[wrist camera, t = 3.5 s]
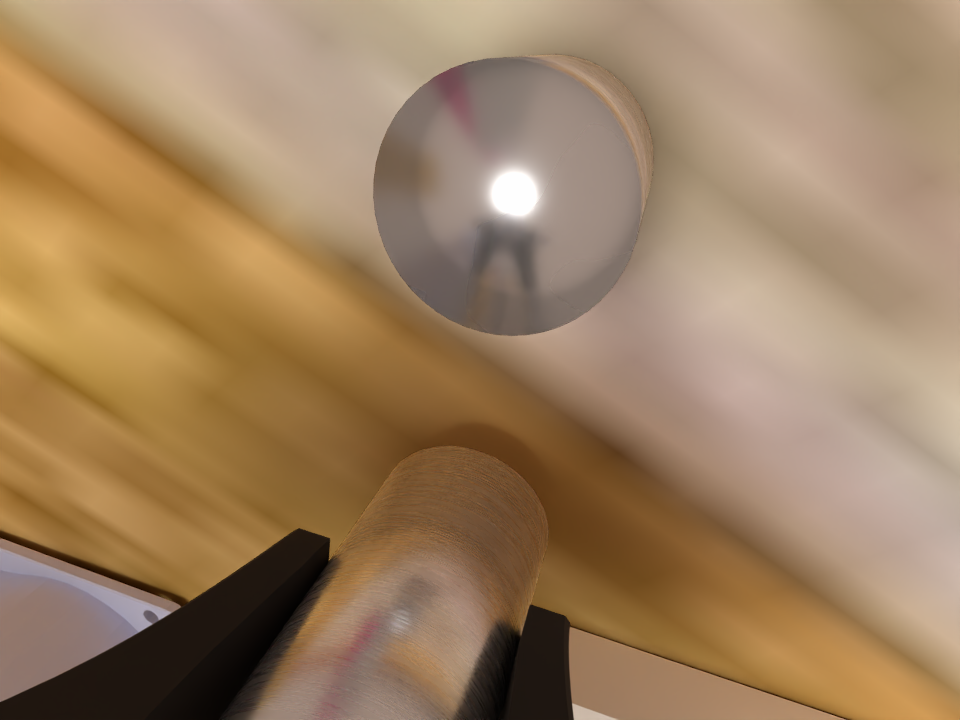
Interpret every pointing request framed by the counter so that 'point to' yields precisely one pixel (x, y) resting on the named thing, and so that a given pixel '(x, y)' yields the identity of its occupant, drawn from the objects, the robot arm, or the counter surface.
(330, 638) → the long steel pin
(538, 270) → the short steel pin
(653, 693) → the hole board
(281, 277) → the counter surface
